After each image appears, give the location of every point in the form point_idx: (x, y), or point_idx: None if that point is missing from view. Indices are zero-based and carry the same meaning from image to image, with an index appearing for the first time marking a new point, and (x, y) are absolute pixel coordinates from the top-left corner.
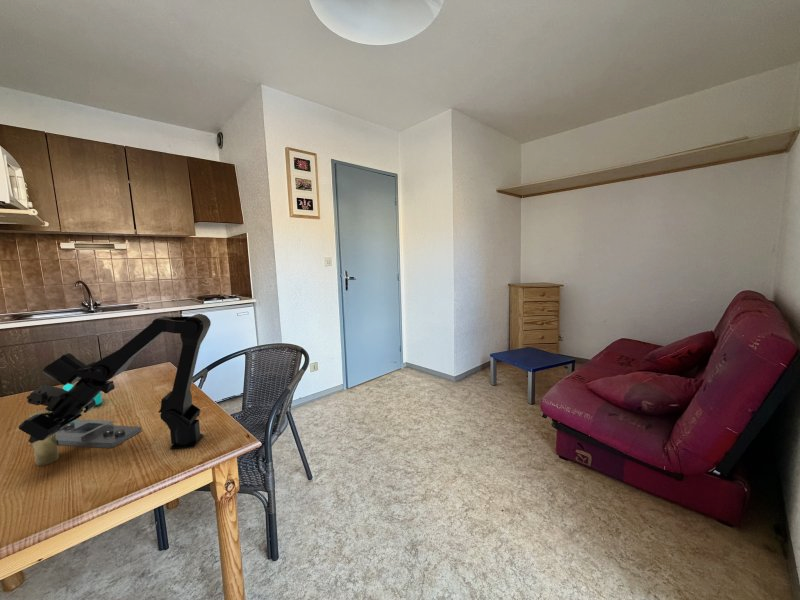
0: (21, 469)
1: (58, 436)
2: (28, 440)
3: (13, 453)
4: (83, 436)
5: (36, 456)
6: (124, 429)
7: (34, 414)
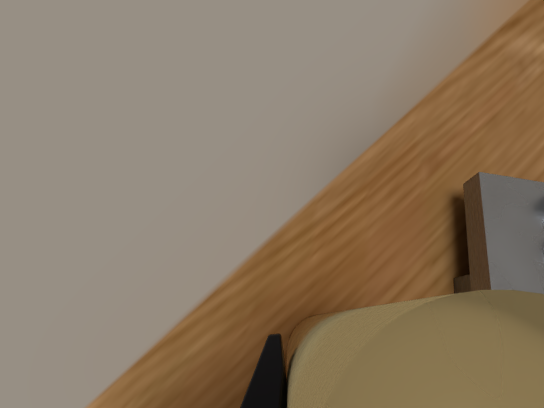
0: (269, 290)
1: (486, 277)
2: (266, 340)
3: (380, 157)
4: None
5: (288, 346)
6: None
7: None
